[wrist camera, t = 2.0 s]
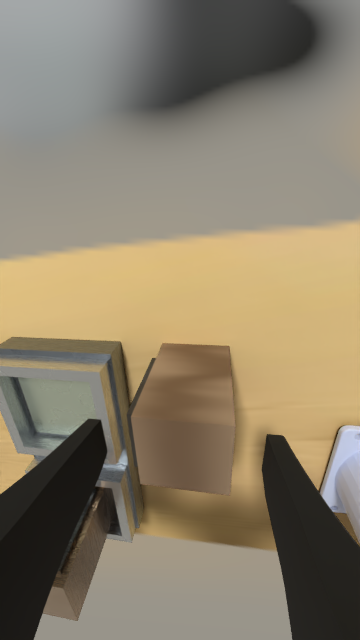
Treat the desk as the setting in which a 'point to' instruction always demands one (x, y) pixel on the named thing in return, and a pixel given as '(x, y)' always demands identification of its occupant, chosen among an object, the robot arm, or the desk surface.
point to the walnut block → (185, 420)
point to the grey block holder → (57, 425)
